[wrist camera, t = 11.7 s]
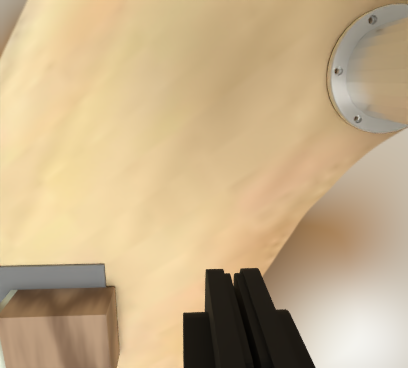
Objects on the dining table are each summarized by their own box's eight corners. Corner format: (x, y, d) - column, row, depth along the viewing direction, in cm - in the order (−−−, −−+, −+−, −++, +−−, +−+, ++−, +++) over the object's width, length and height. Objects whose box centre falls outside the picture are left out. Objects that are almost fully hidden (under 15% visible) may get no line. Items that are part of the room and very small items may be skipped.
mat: (104, 263, 40) (100, 273, 38) (112, 371, 45) (109, 384, 43) (-29, 266, 39) (-40, 276, 37) (-6, 376, 44) (-14, 390, 42)
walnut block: (106, 314, 36) (-12, 318, 35) (112, 388, 39) (3, 393, 38) (114, 287, 41) (10, 289, 40) (119, 354, 44) (22, 358, 43)
